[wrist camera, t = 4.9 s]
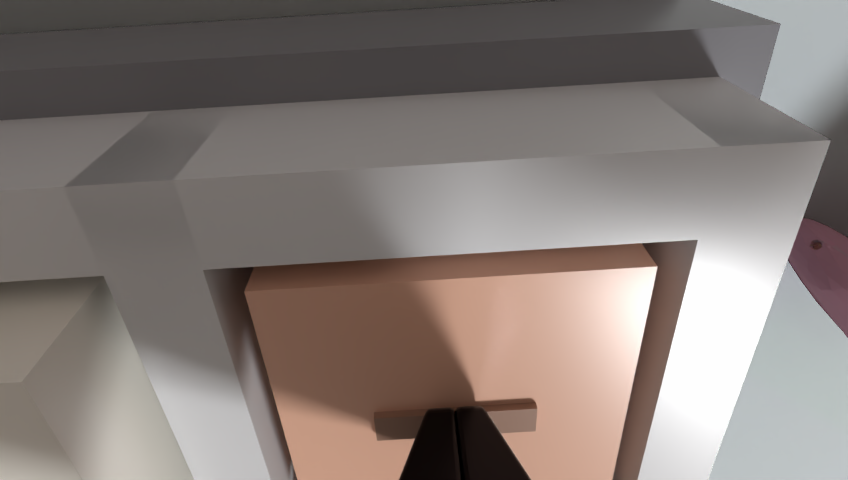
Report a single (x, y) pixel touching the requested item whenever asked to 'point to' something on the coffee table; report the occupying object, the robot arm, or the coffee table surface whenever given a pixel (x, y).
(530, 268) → the peach flat square block
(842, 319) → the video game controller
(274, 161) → the keypad
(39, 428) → the cream key
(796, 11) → the coffee table surface
